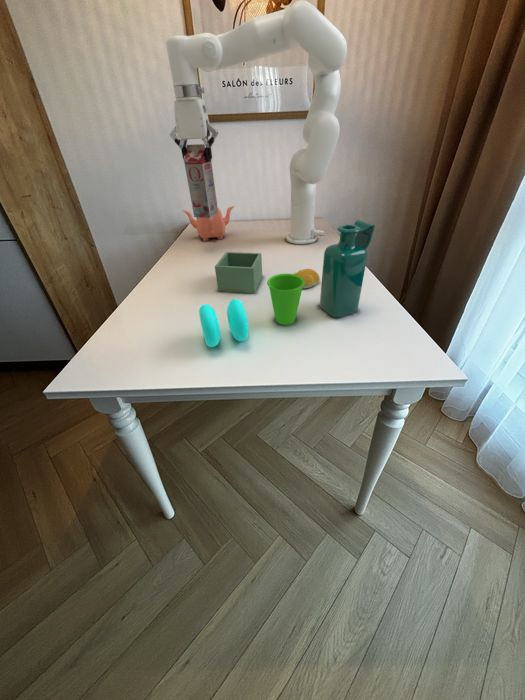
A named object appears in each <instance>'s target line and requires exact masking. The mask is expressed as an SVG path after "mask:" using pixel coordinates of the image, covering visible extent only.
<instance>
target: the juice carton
mask: <svg viewBox="0 0 525 700" xmlns="http://www.w3.org/2000/svg"><path fill="white" fill-rule="evenodd" d="M186 148H187V152H186V154H185V156H184V160H183V163H184V168H185V174H186V180H187V186H188V190H189V196H190V201H191V207H192V212H193V218H197V217H200V218H211V217H213V216H214V215H216V214H217V213H218V208H219V207H218V200H217V199H218V198H217V193H216V192H217V191H216V185H215V178H214V171H213V170H214V169H213V164H212V160H211V161H210V162H206V155H205V148H206V146H205V144H204V143H203V144H200V143H199V144H186Z"/></svg>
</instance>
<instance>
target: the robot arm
mask: <svg viewBox="0 0 525 700" xmlns="http://www.w3.org/2000/svg"><path fill="white" fill-rule="evenodd" d="M165 41H166V42H165V44H166V50H167V51H166V52H167V58H168V63H169V68H170V73H171V79H172V86H173V91H174V97H175V100H174V101H173V105H174V106H173V110H174V111H173V112H174V122H175V125H174V128H173V129H172V131H171V132H170V134H169V137H170V138H171V139H172V140H173V141H174V143H175V144H176V145H177V146H178V148H179V149H180V151H181V157H182V160H183V161H184V156H185V154H186V152H187V146H186V145H188V144H187V143H188V140H202V142H203V144H204V145H205V155H206V162H210V161H211V162H212V160H213V152H212V147H213V145H214V143H215V141H216V140H217V137H218V135H219V131H218V130H217V129H215V128H214V127H213V126H212V125H211V124H210V119H209V115H208V110H207V106H206V103H205V99H204V98H202V95H203V94H205V88H204V87H201V85H200V83H199V76H198V69H200V70H201V71H203V72H204V73H205V72H206V73H211V72H215V71H218V70H221V69H225V68H229V67H233V66H235V65H238V64H242V63H249V62H253V61H256V60H260V59H263V58H266V57H270V56H273V55H276V54H280V53H283V52H287V51H291V50H295V49H297V48H300V47H301V48H302V50H304V51H305V52H306V53H307V64H308V67H309V68H308V69H309V70H310V72H311V73H312V76H313V81H314V91H313V95H312V97H311V98H312V99H311V103H310V106H309V109H308V112H307V115H306V119H305V122H304V124H303V127H302V128H303V129H302V138H303V140H304V142H305V143H306V144H307V145H306V148H301V149H299V150H297V151H295V153H293V155H292V157H291V159H290V162H289V177H290V179H289V180H290V228H289V229H290V231H289V233H288V234H287V235H286V237H285V239H286V241H287V242H288V243H290V244H295V245H307V244H308V245H309V244H312V243H315V242H316V241H317V240H318V237H325V231H323V230H322V229H316V226H315V217H316V216H315V214H316V200H317V199H316V198H317V184H318V183H319V182H321V180H323V179H324V177H325V175H326V173H327V171H328V169H329V166H330V164H331V161H332V158H333V157H334V153H335V150H336V147H337V144H338V141H339V139H340V134H341V133H340V132H341V126H340V121H339V119H338V117H337V116H336V115H335V114H336V111H337V107H338V104H339V101H340V97H341V91H342V90H341V89H342V80H341V74H340V69H341V67H342V66H343V65H344V64H345V62H346V59H347V55H348V44H347V41H346V38H345V36H344V35H343V33H342V32H341V31H340V30H339V29H338V28H337V26H335V25H334V24H333V23H332V22H331V21H330V20H329V19H328V17H326V16H325V15H324V14H323V13H322V12H321V11H320V10H319V9H318V8H317V7H315V6H314V4H312V3H311V2H309V1H307V0H297V1H295V2H294V3H292V5H291V6H289V7H287V8H284V9H280V10H277V11H274V12H270V13H267V14H262V15H258V16H255V17H252V18H250V19H247V20H245V21H244V22H243V23H241V24H240V25H238V26H237V27H235V28H233V29H231V30H229V31H226V32H223V33H220V34H217V35H215V34H214V33H212V32H202V33H198V34H197V33H196V34H193V35H186V34H185V35H184V34H183V35H182V34H175V35H171V36H168V37H167V39H166V40H165ZM209 137H210V138H209Z"/></svg>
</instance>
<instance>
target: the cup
mask: <svg viewBox="0 0 525 700" xmlns="http://www.w3.org/2000/svg"><path fill="white" fill-rule="evenodd" d="M266 284H267V286H268V288H269V293H270V298H271V304H272V308H273V313H274V314H273V315H274V319H275V321H276V322H277V324H279V325H282V326H288V325H292V324H294V322H295V321H296V319H297V314H298V311H299V305H300V300H301V296H302V291H303V288H302V287H303V286H304V284H305V281H304V279H303V278H302V277H300V276H298V275H295V274H294V273H278V274H275V275H272V276H270V277H269V278H268V279H267V281H266Z"/></svg>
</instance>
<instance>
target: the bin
mask: <svg viewBox="0 0 525 700" xmlns="http://www.w3.org/2000/svg"><path fill="white" fill-rule="evenodd" d="M262 260H263V258H262V253H261V252H240V251H239V252H237V251H225V252H224V254H223V255H222V257H221V258H220V259H219V260H218V261H217V263H216V264H215V266H214V270H215V271H214V272H215V278H216V286H217V292H226V293H242V294H243V293H244V294H256V291H257V290H258V288H259V285H260V283H261V280H262V278H263V261H262Z"/></svg>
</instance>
